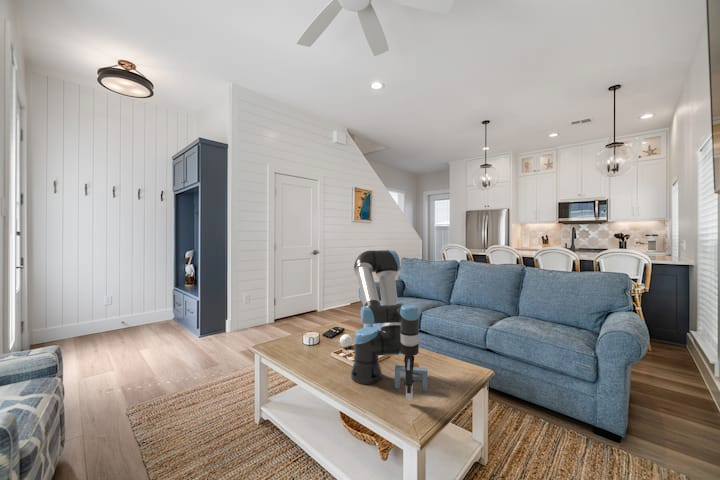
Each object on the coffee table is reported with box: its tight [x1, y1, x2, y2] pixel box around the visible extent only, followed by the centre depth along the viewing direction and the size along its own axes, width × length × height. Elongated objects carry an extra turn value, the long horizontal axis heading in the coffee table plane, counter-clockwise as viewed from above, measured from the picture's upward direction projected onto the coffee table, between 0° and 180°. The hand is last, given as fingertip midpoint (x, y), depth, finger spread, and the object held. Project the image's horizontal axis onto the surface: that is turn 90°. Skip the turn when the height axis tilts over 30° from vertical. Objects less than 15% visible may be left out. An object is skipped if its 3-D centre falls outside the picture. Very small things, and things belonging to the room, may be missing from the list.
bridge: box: [394, 364, 429, 392], centre depth 141 cm, size 3×14×9 cm, turn 77°
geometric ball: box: [339, 333, 353, 348], centre depth 190 cm, size 8×8×8 cm
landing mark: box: [400, 371, 423, 382], centre depth 155 cm, size 13×13×1 cm
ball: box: [413, 360, 420, 373], centre depth 157 cm, size 6×6×6 cm
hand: (409, 399), depth 128 cm, fingers closed
